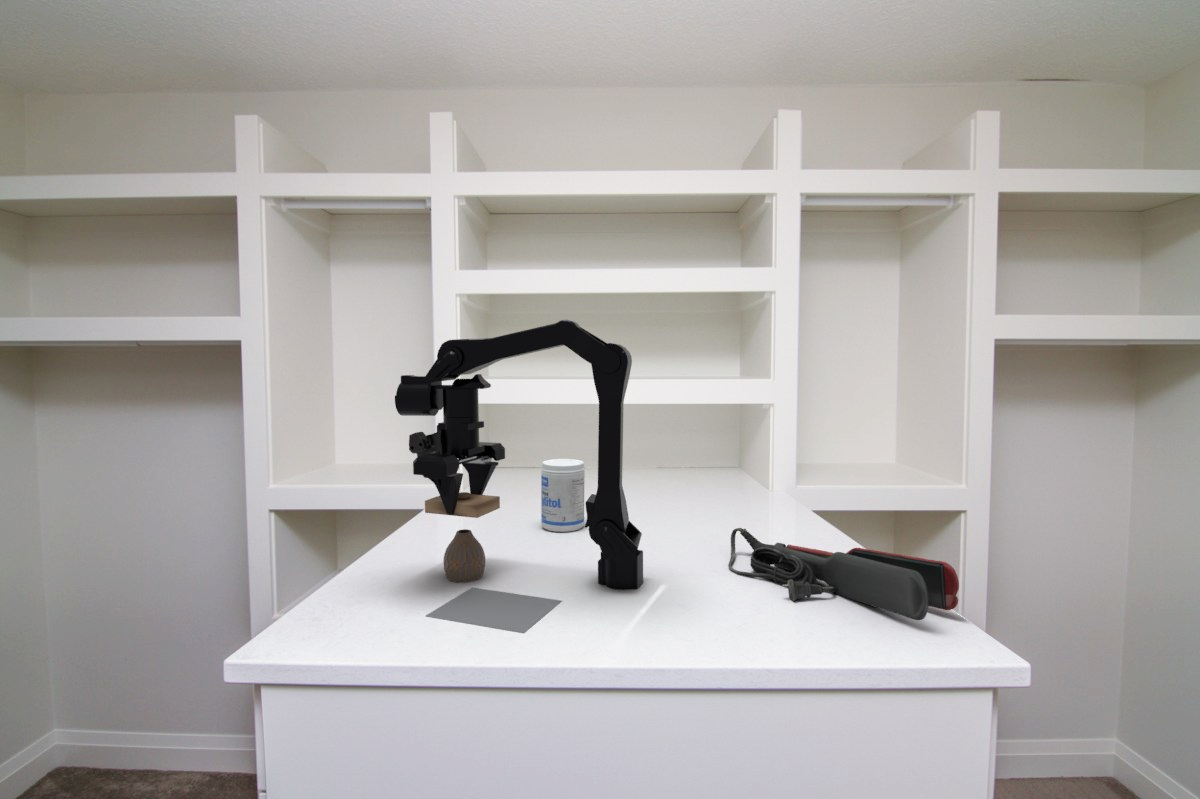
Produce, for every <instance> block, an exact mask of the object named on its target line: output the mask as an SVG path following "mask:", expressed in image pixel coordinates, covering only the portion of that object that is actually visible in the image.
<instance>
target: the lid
mask: <svg viewBox="0 0 1200 799" xmlns="http://www.w3.org/2000/svg"><path fill="white" fill-rule="evenodd" d="M500 498H501V497H500V495H499V496H498V495H488V494H487V495H486V494H483V495H477V494H470V492H466V491H463V492H459V495H458V500H457V504H456V508H455V511H454V514H452V515H451V516H455V517H456V516H457V517H463V518H464V517H466V518H475V519H479V518H481V517H483V516H485V515H487V514H489V513H492V512H494V511H496V510H498V509H499V510H500V509H501V505H500V504H501V503H500V502H501V499H500ZM424 512H425V514H435V515H442V516H443V515H444V516H450V515H449V514H447V513H446V510H445V507H444V505H443V502H442V500H441V497H440V495H437V496H435V497H432V498H429V499H426V500H424Z"/></svg>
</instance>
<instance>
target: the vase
mask: <svg viewBox="0 0 1200 799" xmlns="http://www.w3.org/2000/svg"><path fill="white" fill-rule="evenodd" d="M442 564H443V570H444V573H445V576H446V578H447V579H448V581H449V582H453V583H469V582H474V581H478V580H479V579H481V578H482V577H483V575H484V572H485V568H486V555H485V550H484V547H483V546H482V544H481V543H480V542H479V540H478V539H477V538H476V537H475V536H474V535H473V532H472V530H470V529H459V530H457V531H456V533H455V535H454V537H453V539H452V540H451V541H450V543H448V545H447V547H446V548H445V552H444V555H443V563H442Z"/></svg>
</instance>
